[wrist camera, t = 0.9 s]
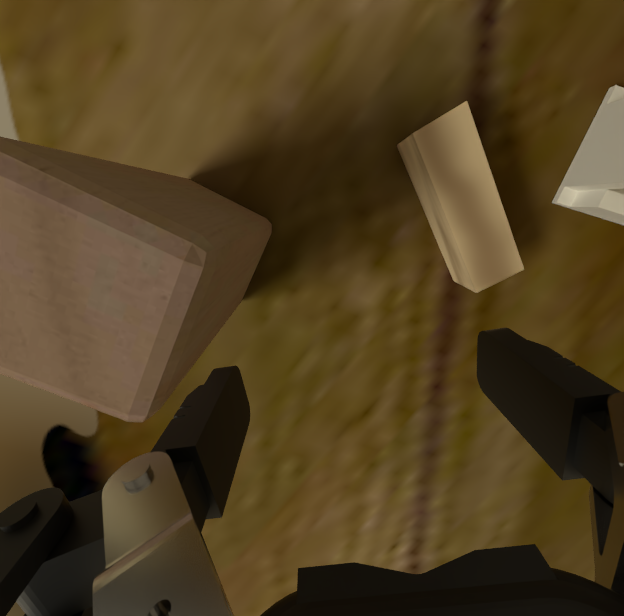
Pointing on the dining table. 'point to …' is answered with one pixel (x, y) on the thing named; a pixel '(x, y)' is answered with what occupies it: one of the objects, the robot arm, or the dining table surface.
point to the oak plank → (461, 200)
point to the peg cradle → (599, 165)
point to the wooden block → (114, 276)
